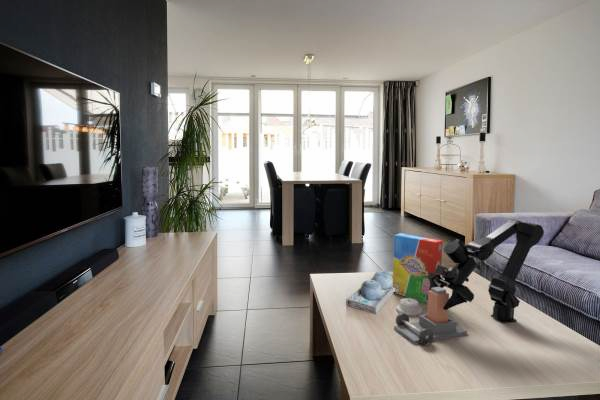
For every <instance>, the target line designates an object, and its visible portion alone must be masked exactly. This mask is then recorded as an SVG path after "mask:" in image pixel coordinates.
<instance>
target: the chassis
mask: <svg viewBox="0 0 600 400" xmlns="http://www.w3.org/2000/svg"><path fill="white" fill-rule="evenodd" d="M395 324H396V325H394V326H393V330H394V331H396V332H397V333H398V334H399V335H401V336H402V337H404V339H406V340H408V341H409V342H410V343H412V344H413V345H417V344H423V345H428V344H430V343H431V342H434V341H439V340H444V339H450V338H454V337H459V336H465V335H468V330H467V329H465V328H463V327H462V326H460V325H459V324H457V321H456V320H455V319H453V318H451V317H449V316H448V322H443V323H438V324H435V323H434V322H432V321H431V320H429V319H427V313H425V314H420V315H418V321H416V322H411V323H410V317H409V315H406V314H405V313H398V315H396V317H395Z"/></svg>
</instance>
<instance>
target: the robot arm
mask: <svg viewBox="0 0 600 400" xmlns="http://www.w3.org/2000/svg"><path fill="white" fill-rule="evenodd" d="M544 233H545V232H544V229H543V226H542V225H540V224H536V223H533V222H526V221H525V222H524V221H521V220H518V219H512V218H511V219H508V220H506V222H505V223H504V224H502V225H501V226H499V227H498V228H496V229H495V230H494V231H492V232H491V233H489V234H488V235H487V236H485V237H482V238H478V239H475V240H473V241H470V242H469V243H468V244H463V241H462V240H460V239H457V238H456V239H455V240H454V241H451V242H449V243H447V244H445V246H444V247H443V252H444V253H445V255H446V256H447V257H449V259H450V260H451V261H452V262H453V263H454V264H455V265H454V266H450V267H445V266H443V265H442V264H441V265H437V268H436V270H435V273H434V272H431V273H430V274H429V275H428V276H427V277H428V278H429V281H430V289H429V291H430V290H431V288H434V287H441V288H443V289H444V287H446V288H448V289H450V290H451V291H452V292H451V295H450V296H449V300H448V301H447V302H446V304H445V305H444V307H443V309H444V310H447V309H448V310H449V309H451V308H454V307H456V306H458V305H461V304H464V303H466V304H467V303H468V302H469V303H472V301H473V300H474V298H475V293H473V291H472V290H471V289H470V288H469V287H468V286H466V285H465V284H464V283H465V282H466V283H468V282H469V281H470V279H469V277H470V276H471V275H472V273H473V272H474V271H475V270H478V271H481V269H482V266H481V262H480V261H482V262H483V261H487V260H488V259H489V258H490V257H491V256H492V255H493V253H494V251H495V249H496V248H497V247H498V246H500V245H501V244H502V243H504V242H505V241H506V240H508V239H509V238H511V237H512V236H514V235H515V237H516V243H515V245H514V248H513V250H512V251H511V254H510V256H509V258H508V259H507V262H506V264H505V266H504V269H503V270H502V272H501V274H500V275H499V276H498V277H495V276H494V277H492V279H491V281H490V284H489V285H488V291H487V292H488V294H489V297H490V300H491V301H493V302H494V305H493V306H492V314H490V317H492V318H494V319H495V320H497V321H498V322H500V323H513V322H517V319H516V318H515V317H514V315H515V309H516V308H517V307H519V305H520V302H521V301H520V300H519V299H518V297H517V296H516V295H515V294H516V290H517V288H516V280H517V277H518V276H519V274H520V271H521V269H522V267H523V265H524V262H525V261H526V258H527V256H528V254H529V253H530V250H531V248H533V247H534V246H536V245H537V244H538V243H540V241H541V240H542V238H543V236H544V235H545V234H544ZM476 259H477V260H480V261H476ZM436 273H439V274H440V275H441V276H440V275H439V274H436ZM426 299H427V300H428V295H427V298H426Z"/></svg>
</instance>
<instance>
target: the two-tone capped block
mask: <svg viewBox="0 0 600 400" xmlns="http://www.w3.org/2000/svg"><path fill="white" fill-rule="evenodd" d="M449 298H450V293H449V292H447V289H445V288H444V287H443V288H441V287H434V288H431V290H430V291H428V304H427V309H426V310H427V311H426V312H427V313H426V314H427V319H429V320H431V321H432V322H434V323H435V324H438V323H443V322H448V317H449V309H447V310H444V309H443V307H444V305H445V304H446V302H447V301H448V300H449Z"/></svg>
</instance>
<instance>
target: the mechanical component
mask: <svg viewBox="0 0 600 400" xmlns="http://www.w3.org/2000/svg"><path fill="white" fill-rule="evenodd" d="M395 311H396V313H398V314H400V313H405V314H406V315H408V317H409V316H411V317H412V316H419V315H422V313H423V309H422V307H421V306H420V301H418V300H416V299H412V298H408V297H405V298H401V299H399V304H397V305H396V309H395Z"/></svg>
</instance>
